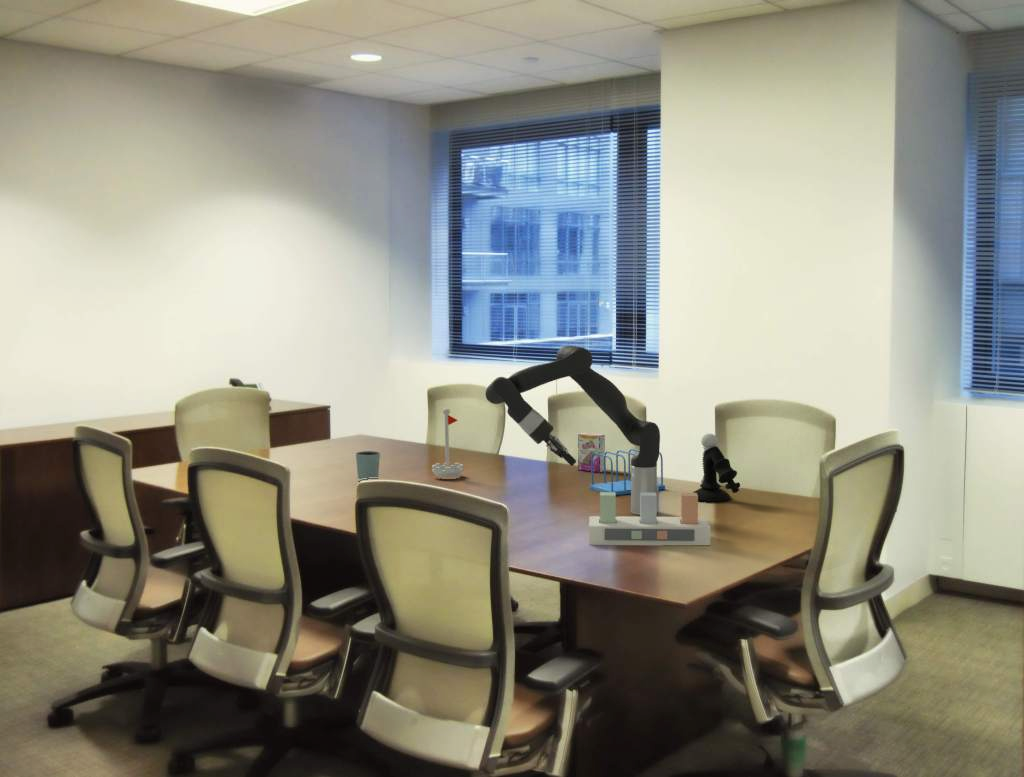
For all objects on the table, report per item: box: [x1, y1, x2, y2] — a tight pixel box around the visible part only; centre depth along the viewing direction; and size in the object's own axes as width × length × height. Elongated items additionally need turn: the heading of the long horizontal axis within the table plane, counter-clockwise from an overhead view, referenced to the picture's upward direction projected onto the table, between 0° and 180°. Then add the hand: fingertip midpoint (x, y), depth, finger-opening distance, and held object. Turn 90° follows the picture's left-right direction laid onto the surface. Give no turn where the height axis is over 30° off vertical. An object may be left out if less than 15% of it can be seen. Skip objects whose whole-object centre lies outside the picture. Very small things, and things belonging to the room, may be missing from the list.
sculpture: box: [692, 433, 741, 504], centre depth 390 cm, size 15×24×25 cm, turn 27°
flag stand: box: [431, 407, 464, 477], centre depth 444 cm, size 13×13×30 cm
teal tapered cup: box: [355, 450, 381, 481], centre depth 440 cm, size 10×10×12 cm
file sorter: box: [589, 448, 666, 496], centre depth 415 cm, size 25×17×15 cm
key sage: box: [599, 492, 617, 523], centre depth 335 cm, size 5×5×10 cm
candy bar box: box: [577, 432, 606, 474], centre depth 455 cm, size 11×5×16 cm, turn 58°
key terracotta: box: [680, 492, 699, 524], centre depth 332 cm, size 5×5×10 cm
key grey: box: [639, 492, 658, 524], centre depth 334 cm, size 5×5×10 cm
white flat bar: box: [588, 515, 711, 546], centre depth 334 cm, size 38×15×6 cm, turn 85°
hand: (574, 463), depth 334 cm, fingers closed
